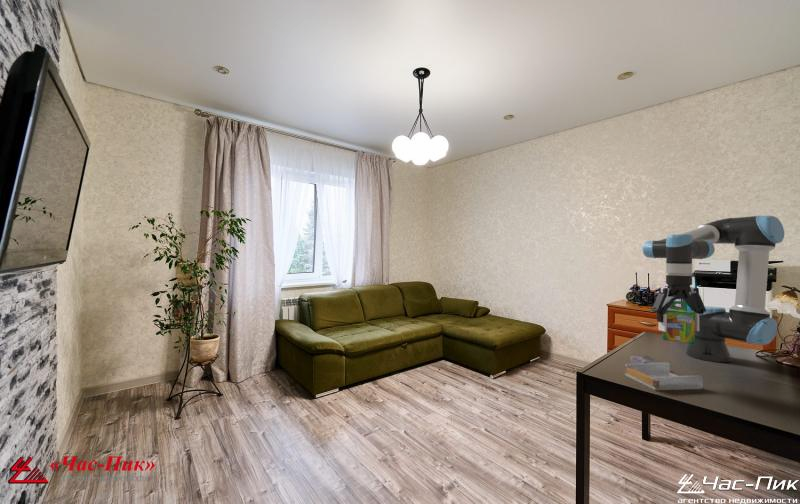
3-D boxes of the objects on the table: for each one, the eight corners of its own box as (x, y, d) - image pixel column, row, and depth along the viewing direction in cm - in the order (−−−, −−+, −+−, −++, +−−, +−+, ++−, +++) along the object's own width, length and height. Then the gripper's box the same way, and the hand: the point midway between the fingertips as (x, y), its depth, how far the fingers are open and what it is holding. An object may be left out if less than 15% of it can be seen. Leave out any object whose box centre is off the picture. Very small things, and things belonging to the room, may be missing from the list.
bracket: (667, 373, 128) (667, 362, 128) (702, 388, 114) (702, 376, 114) (625, 374, 127) (625, 363, 126) (655, 390, 113) (655, 378, 113)
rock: (664, 374, 127) (664, 363, 127) (629, 368, 134) (629, 357, 134) (663, 368, 134) (663, 357, 134) (630, 362, 141) (630, 352, 141)
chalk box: (662, 340, 120) (662, 301, 120) (663, 335, 127) (663, 298, 127) (695, 345, 114) (695, 304, 114) (694, 339, 121) (694, 301, 121)
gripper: (699, 273, 125) (699, 327, 125) (640, 274, 123) (640, 328, 123) (719, 275, 117) (719, 332, 117) (656, 275, 116) (656, 333, 116)
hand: (678, 330), depth 120 cm, fingers closed on chalk box, 12 cm apart
